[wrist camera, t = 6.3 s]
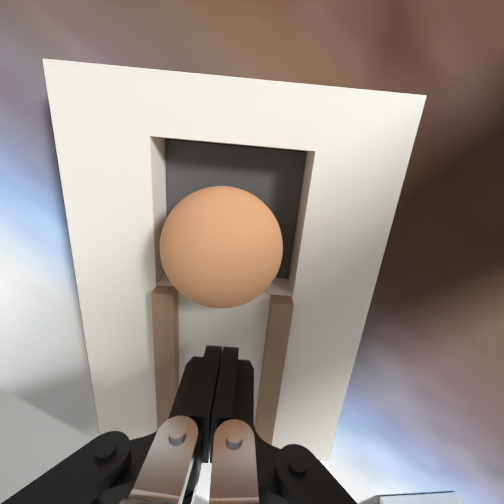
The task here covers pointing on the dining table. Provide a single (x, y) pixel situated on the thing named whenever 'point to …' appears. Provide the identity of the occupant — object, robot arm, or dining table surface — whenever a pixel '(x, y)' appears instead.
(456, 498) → the skincare box
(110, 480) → the robot arm
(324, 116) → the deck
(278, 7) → the dining table surface
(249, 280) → the ball
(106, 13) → the dining table surface
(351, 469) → the dining table surface
